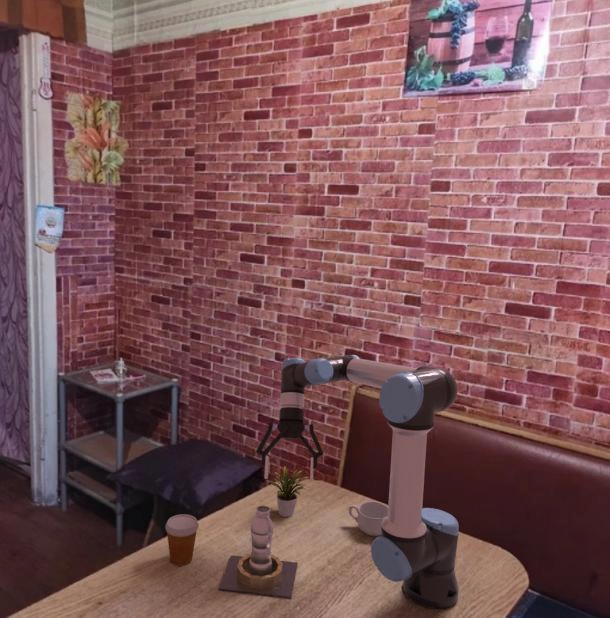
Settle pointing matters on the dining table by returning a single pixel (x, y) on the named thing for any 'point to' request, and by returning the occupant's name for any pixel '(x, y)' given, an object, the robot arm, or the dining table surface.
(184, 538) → the disposable coffee cup
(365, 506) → the teacup
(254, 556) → the plastic bottle
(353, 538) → the dining table surface
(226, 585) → the collar stand
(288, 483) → the house plant
